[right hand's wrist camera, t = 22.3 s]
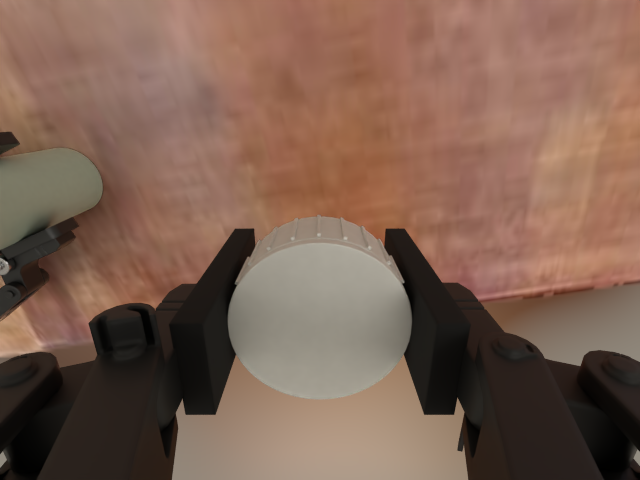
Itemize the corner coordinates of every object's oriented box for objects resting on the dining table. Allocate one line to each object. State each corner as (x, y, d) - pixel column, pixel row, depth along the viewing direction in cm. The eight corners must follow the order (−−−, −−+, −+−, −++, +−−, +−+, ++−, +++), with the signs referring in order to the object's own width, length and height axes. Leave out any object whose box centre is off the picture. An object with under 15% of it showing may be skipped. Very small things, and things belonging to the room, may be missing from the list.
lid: (278, 367, 13) (269, 420, 11) (215, 245, 12) (189, 278, 9) (414, 326, 13) (434, 374, 10) (370, 190, 11) (384, 211, 9)
